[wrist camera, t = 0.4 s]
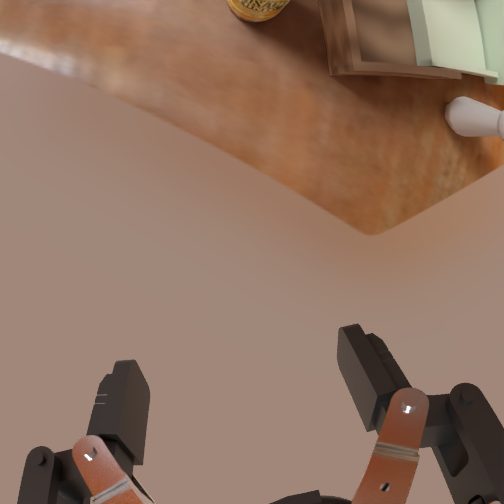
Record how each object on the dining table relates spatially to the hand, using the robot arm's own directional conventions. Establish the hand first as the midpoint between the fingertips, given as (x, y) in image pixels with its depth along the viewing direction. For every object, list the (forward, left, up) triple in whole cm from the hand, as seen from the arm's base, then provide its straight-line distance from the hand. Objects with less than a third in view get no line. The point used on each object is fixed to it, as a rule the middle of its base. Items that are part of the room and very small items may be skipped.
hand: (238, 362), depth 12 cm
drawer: (-20, +35, -28) cm, 49 cm away
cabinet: (-20, +22, -28) cm, 42 cm away
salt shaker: (-6, +34, -29) cm, 45 cm away
